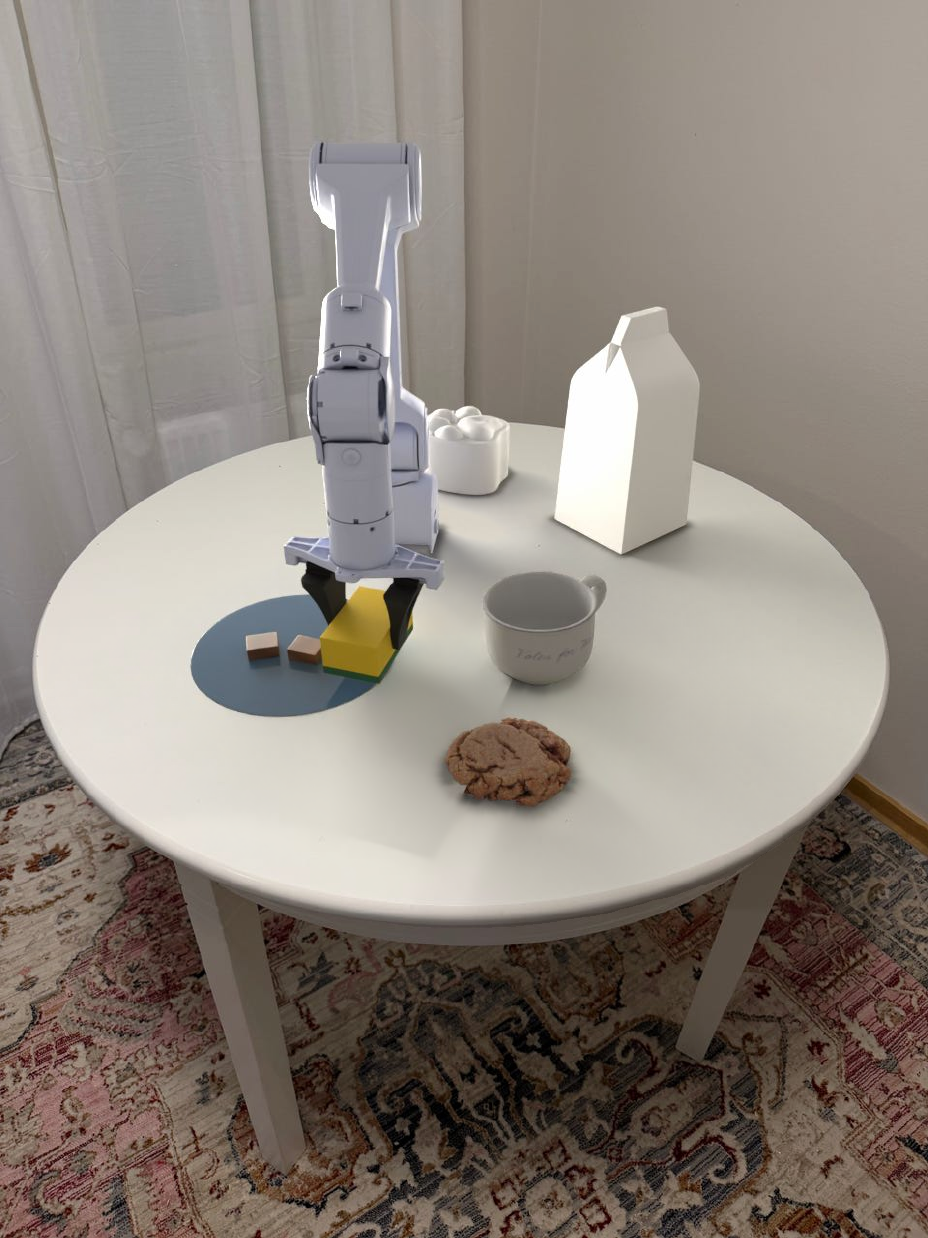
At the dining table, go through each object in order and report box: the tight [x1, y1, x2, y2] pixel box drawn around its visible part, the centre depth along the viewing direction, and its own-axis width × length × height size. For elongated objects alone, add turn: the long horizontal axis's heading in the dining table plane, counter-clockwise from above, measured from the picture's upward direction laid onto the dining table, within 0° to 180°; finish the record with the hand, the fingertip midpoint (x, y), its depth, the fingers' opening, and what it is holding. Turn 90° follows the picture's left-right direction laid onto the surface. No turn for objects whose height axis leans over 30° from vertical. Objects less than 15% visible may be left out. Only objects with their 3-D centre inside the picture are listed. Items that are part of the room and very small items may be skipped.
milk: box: [553, 305, 701, 555], centre depth 104 cm, size 12×12×26 cm
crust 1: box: [246, 632, 280, 660], centre depth 86 cm, size 3×2×1 cm
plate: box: [189, 593, 394, 718], centre depth 87 cm, size 20×20×1 cm
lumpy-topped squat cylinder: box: [425, 405, 511, 496], centre depth 120 cm, size 10×13×9 cm
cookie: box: [445, 717, 572, 807], centre depth 74 cm, size 10×11×3 cm
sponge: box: [320, 586, 414, 685], centre depth 82 cm, size 6×9×4 cm, turn 163°
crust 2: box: [287, 635, 322, 665], centre depth 85 cm, size 3×2×1 cm
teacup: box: [481, 571, 608, 685], centre depth 85 cm, size 14×11×8 cm
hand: (368, 637), depth 83 cm, fingers closed on sponge, 5 cm apart
